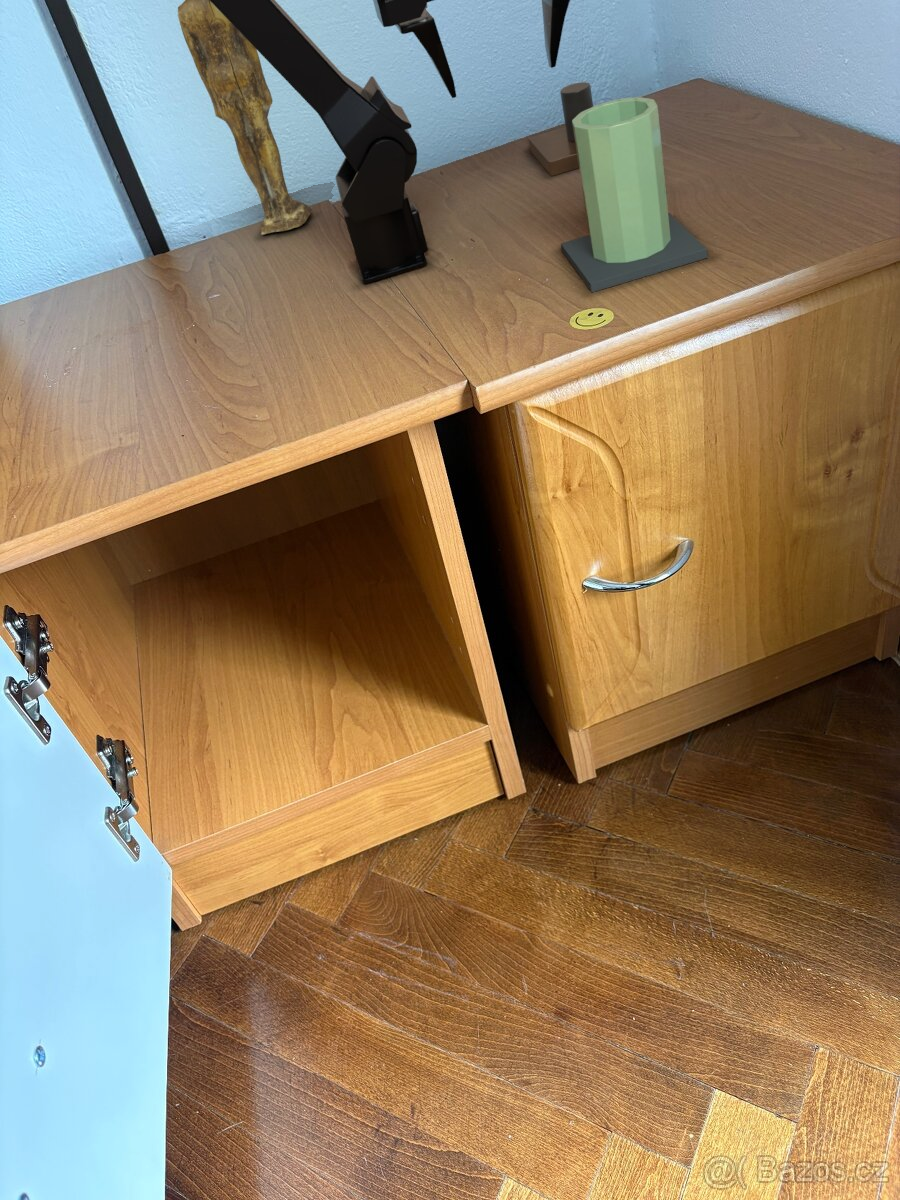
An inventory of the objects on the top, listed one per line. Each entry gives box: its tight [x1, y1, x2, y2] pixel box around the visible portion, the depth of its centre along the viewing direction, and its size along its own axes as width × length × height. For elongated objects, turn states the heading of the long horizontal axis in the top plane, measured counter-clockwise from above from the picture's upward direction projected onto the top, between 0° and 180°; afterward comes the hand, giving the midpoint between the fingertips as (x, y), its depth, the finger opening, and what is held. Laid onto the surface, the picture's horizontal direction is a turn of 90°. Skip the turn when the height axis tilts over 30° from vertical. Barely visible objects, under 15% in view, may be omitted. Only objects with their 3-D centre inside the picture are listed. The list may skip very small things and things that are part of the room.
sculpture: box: [177, 0, 313, 236], centre depth 105 cm, size 7×6×30 cm
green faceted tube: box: [572, 96, 671, 263], centre depth 84 cm, size 7×7×11 cm
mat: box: [560, 212, 708, 293], centre depth 87 cm, size 10×10×1 cm
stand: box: [527, 81, 594, 177], centre depth 109 cm, size 10×10×6 cm
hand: (502, 81), depth 90 cm, fingers open, 9 cm apart
